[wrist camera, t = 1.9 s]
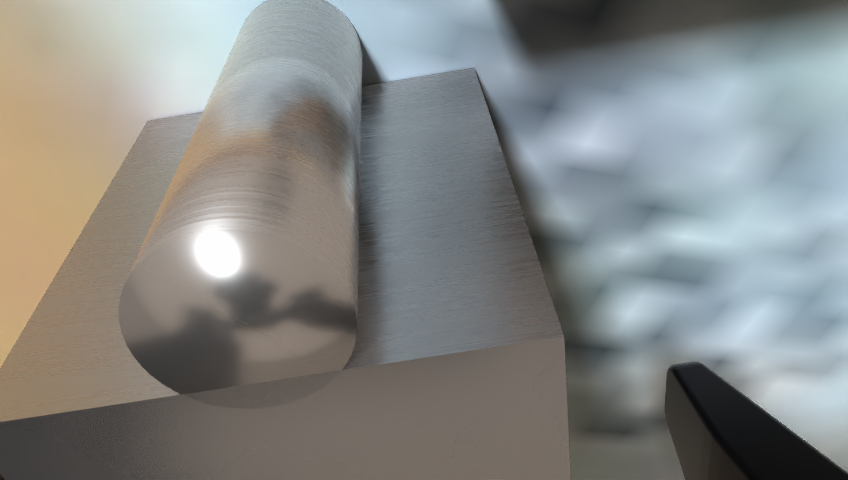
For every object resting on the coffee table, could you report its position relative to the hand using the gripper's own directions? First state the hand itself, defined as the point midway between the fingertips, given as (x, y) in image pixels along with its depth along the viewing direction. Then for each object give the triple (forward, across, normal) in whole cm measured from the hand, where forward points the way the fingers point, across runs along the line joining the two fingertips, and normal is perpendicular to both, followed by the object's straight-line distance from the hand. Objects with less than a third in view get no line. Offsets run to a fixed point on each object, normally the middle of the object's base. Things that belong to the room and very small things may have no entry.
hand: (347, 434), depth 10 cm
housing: (+4, 0, 0) cm, 4 cm away
